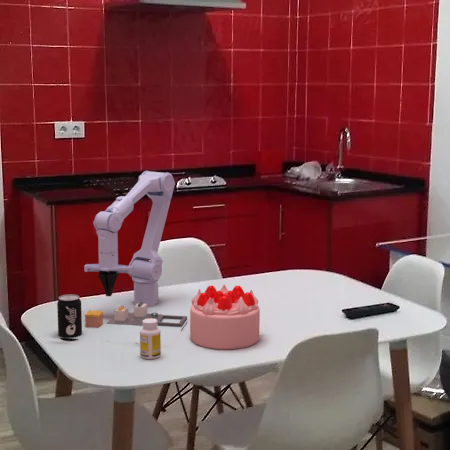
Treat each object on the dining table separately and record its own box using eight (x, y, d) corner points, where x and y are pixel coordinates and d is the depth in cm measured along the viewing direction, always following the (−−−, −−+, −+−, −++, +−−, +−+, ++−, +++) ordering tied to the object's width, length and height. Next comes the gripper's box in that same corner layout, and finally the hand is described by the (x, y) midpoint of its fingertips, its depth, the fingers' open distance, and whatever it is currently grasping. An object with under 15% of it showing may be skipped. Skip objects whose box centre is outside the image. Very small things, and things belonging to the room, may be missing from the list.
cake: (189, 350, 206) (189, 299, 204) (191, 327, 226) (191, 280, 223) (261, 350, 207) (262, 300, 204) (257, 327, 226) (257, 281, 224)
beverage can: (59, 342, 211) (57, 301, 209) (57, 335, 217) (56, 294, 215) (83, 340, 213) (82, 299, 211) (81, 333, 219) (79, 293, 217)
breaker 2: (137, 312, 236) (137, 301, 235) (147, 313, 235) (147, 301, 235) (134, 316, 232) (134, 304, 231) (143, 316, 231) (143, 305, 231)
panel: (118, 315, 236) (118, 310, 236) (162, 318, 234) (162, 312, 234) (106, 327, 225) (106, 321, 224) (152, 330, 223) (152, 324, 222)
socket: (161, 321, 231) (161, 314, 231) (187, 322, 230) (187, 316, 230) (154, 329, 223) (154, 322, 223) (181, 330, 222) (181, 324, 222)
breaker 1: (118, 316, 232) (118, 305, 231) (128, 316, 231) (127, 305, 230) (114, 320, 228) (114, 308, 227) (124, 320, 227) (124, 309, 227)
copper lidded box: (89, 326, 226) (89, 310, 225) (103, 327, 225) (103, 311, 224) (85, 331, 222) (84, 314, 221) (98, 331, 221) (98, 315, 220)
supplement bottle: (161, 352, 204) (160, 317, 202) (160, 359, 199) (159, 323, 197) (140, 352, 204) (140, 317, 202) (139, 359, 199) (138, 323, 197)
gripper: (80, 253, 225) (81, 297, 227) (127, 255, 222) (128, 300, 225) (88, 248, 231) (89, 291, 234) (134, 250, 229) (134, 293, 232)
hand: (109, 295), depth 230 cm, fingers closed
